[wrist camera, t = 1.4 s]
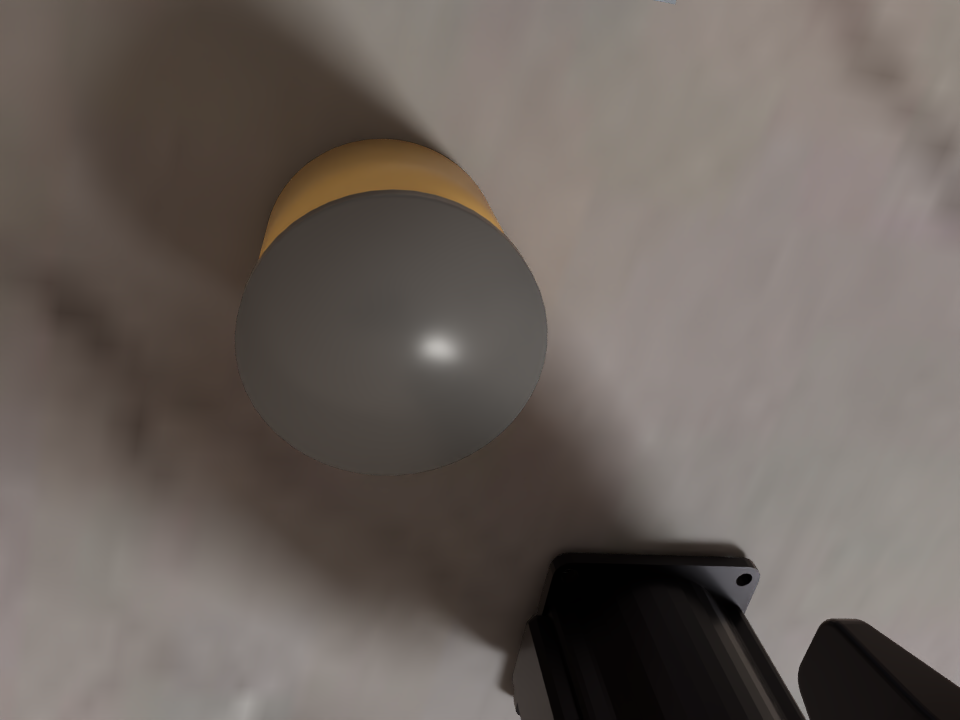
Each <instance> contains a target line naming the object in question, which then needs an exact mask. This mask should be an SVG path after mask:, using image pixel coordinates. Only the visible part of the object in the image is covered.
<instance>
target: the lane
mask: <svg viewBox="0 0 960 720" xmlns="http://www.w3.org/2000/svg"><path fill="white" fill-rule="evenodd" d="M655 1H661V2H666V3H671V4H675V3H676V0H655Z"/></svg>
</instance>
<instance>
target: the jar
mask: <svg viewBox="0 0 960 720" xmlns="http://www.w3.org/2000/svg"><path fill="white" fill-rule="evenodd" d="M546 348H547V320H546V312H545V307H544V304H543V300H542V296H541V293H540V290H539V288H538V286H537V283H536V281H535V279H534V277H533V275H532V273H531V271H530V269H529V267H528V265H527V264H526V262H525V261H524V259H523V257H522V256H521V254H520V253H519V251H518V249H517V248H516V247H515V246H514V245H513V243H512V242H511V241H510V240H509V239H508V238H507V236H506V235H505V234H504V232H503V231H502V229H501V227H500V225H499V223H498V221H497V219H496V217H495V216H494V214H493V212H492V210H491V208H490V206H489V204H488V202H487V200H486V199H485V197H484V195H483V194H482V192H481V191H480V189H479V188H478V186H477V185H476V184H475V182H474V181H473V180H472V179H471V178H470V177H469V175H468V174H467V173H466V172H464V171H463V170H462V169H461V168H460V167H459V166H458V165H457V164H455V163H454V162H452V161H451V160H449V159H448V158H446V157H445V156H444V155H442V154H440V153H438V152H436V151H434V150H432V149H430V148H427V147H424V146H421V145H418V144H415V143H411V142H407V141H402V140H394V139H368V140H361V141H356V142H351V143H347V144H344V145H342V146H339V147H336V148H333V149H331V150H329V151H327V152H325V153H323V154H321V155H319V156H318V157H316V158H315V159H313V160H312V161H310V162H309V163H307V164H306V165H305V166H304V167H303V168H302V169H301V170H299V171H298V172H297V173H296V174H295V175H294V176H293V178H292V179H291V180H290V181H289V182H288V183H287V185H286V186H285V187H284V189H283V190H282V192H281V194H280V195H279V197H278V199H277V200H276V203H275V205H274V207H273V210H272V212H271V214H270V218H269V222H268V225H267V229H266V233H265V237H264V241H263V244H262V248H261V252H260V256H259V260H258V262H257V264H256V265H255V267H254V268H253V270H252V273H251V275H250V277H249V279H248V282H247V284H246V286H245V290H244V293H243V297H242V300H241V304H240V308H239V312H238V315H237V321H236V330H235V353H236V360H237V365H238V370H239V374H240V377H241V380H242V383H243V385H244V388H245V391H246V393H247V395H248V396H249V398H250V400H251V402H252V404H253V406H254V407H255V409H256V410H257V412H258V413H259V414H260V416H261V417H262V418H263V420H264V421H265V422H266V423H267V424H268V425H269V426H270V428H271V429H272V430H273V431H274V432H275V433H276V434H277V435H278V436H280V437H281V438H282V439H283V440H285V441H286V442H287V443H288V444H290V445H291V446H292V447H294V448H295V449H297V450H299V451H300V452H302V453H303V454H305V455H307V456H309V457H311V458H313V459H315V460H317V461H319V462H321V463H324V464H326V465H329V466H332V467H335V468H338V469H341V470H346V471H350V472H355V473H360V474H369V475H405V474H414V473H420V472H424V471H429V470H433V469H437V468H440V467H443V466H446V465H449V464H452V463H454V462H456V461H458V460H460V459H463V458H465V457H467V456H469V455H471V454H472V453H474V452H476V451H477V450H479V449H481V448H482V447H484V446H485V445H487V444H488V443H489V442H491V441H492V440H493V439H494V438H496V437H497V436H498V435H499V434H500V433H501V432H503V431H504V430H505V429H506V428H507V427H508V426H509V425H510V424H511V423H512V422H513V420H514V419H515V418H516V417H517V415H518V414H519V413H520V412H521V411H522V409H523V408H524V406H525V404H526V403H527V401H528V400H529V398H530V397H531V395H532V393H533V391H534V389H535V386H536V384H537V382H538V380H539V377H540V374H541V371H542V368H543V364H544V360H545V354H546Z"/></svg>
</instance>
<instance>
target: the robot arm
mask: <svg viewBox="0 0 960 720" xmlns="http://www.w3.org/2000/svg"><path fill="white" fill-rule="evenodd" d="M569 569H573V570H571V571H570V572H566V573H563V572H564V571H566V570H569ZM740 575H741V576H740ZM759 578H760V574H759V571H758V569H757V568H756V566H755V565H754V563H753V562H752V561H751V560H750V559H747V558H733V557H699V556H665V555H630V554H596V553H564V554H561V555H559V556H557V557H556V558H555V559H554V560H552V562H551V564H550V566H549V570H548V573H547V577H546V581H545V584H544V588H543V592H542V595H541V599H540V603H539V606H538V610H537V613H536V615H533V616H532V617H531V619H530V620H529V621H528V622H527V624H526V628H525V632H524V636H523V639H522V643H521V647H520V650H519V654H518V658H517V661H516V665H515V669H514V673H513V676H512V681H513V685H514V690H515V693H514V705H515V709H516V712H517V714H518V715H520V717H521V720H806V719H805V717H804V715H803V714H802V712H801V710H800V709H799V707H798V705H797V703H796V702H795V700H794V698H793V697H792V695H791V693H790V691H789V690H788V688H787V686H786V685H785V683H784V681H783V680H782V678H781V676H780V674H779V673H778V671H777V669H776V668H775V666H774V664H773V662H772V661H771V659H770V657H769V656H768V654H767V652H766V651H765V649H764V647H763V645H762V644H761V642H760V640H759V639H758V637H757V635H756V634H755V632H754V630H753V628H752V627H751V625H750V623H749V622H748V620H747V618H746V616H745V615H744V614H745V611H746V609H747V607H748V604H749V602H750V600H751V598H752V595H753V593H754V591H755V588H756V586H757V584H758V582H759ZM798 684H799V689H800V693H801V696H802V699H803V702H804V704H805V707H806V710H807V713H808V716H809V719H810V720H960V687H958V686H957V685H955V684H954V683H953V682H951V681H950V680H948V679H947V678H945V677H944V676H942V675H941V674H940V673H938V672H937V671H935V670H934V669H932V668H931V667H930V666H928V665H927V664H925V663H924V662H922V661H921V660H919V659H918V658H917V657H915V656H914V655H912V654H911V653H909V652H908V651H906V650H905V649H904V648H902V647H901V646H899V645H898V644H896V643H895V642H893V641H892V640H891V639H889V638H888V637H886V636H885V635H883V634H882V633H880V632H879V631H878V630H876V629H875V628H873V627H872V626H870V625H869V624H867V623H866V622H864V621H862V620H858V619H827V620H826V621H824V622H823V623H822V624H821V625H820V626H819V628H818V630H817V632H816V634H815V636H814V638H813V640H812V642H811V644H810V646H809V648H808V650H807V652H806V654H805V656H804V658H803V660H802V662H801V664H800V667H799V671H798Z"/></svg>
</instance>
